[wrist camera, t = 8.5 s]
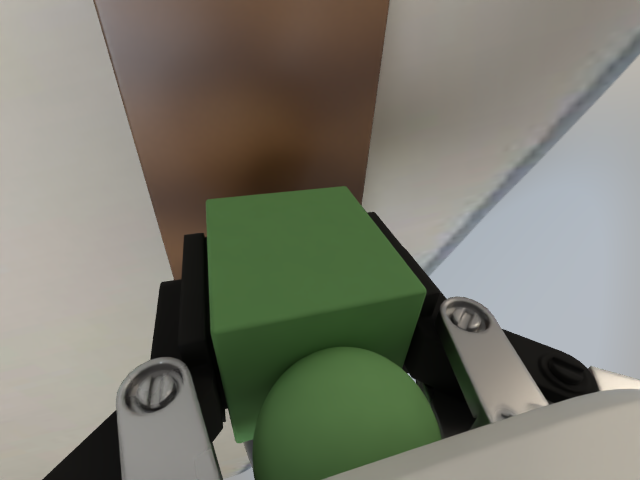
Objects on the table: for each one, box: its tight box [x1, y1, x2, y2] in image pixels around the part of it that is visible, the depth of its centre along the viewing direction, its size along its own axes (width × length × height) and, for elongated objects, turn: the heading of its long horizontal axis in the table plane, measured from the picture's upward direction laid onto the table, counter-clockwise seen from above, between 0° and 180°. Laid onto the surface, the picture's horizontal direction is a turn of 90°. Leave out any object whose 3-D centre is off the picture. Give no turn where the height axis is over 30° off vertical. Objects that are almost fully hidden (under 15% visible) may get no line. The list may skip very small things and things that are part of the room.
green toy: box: [206, 186, 442, 480], centre depth 8 cm, size 4×4×8 cm
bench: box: [93, 0, 390, 280], centre depth 16 cm, size 18×9×6 cm, turn 178°
